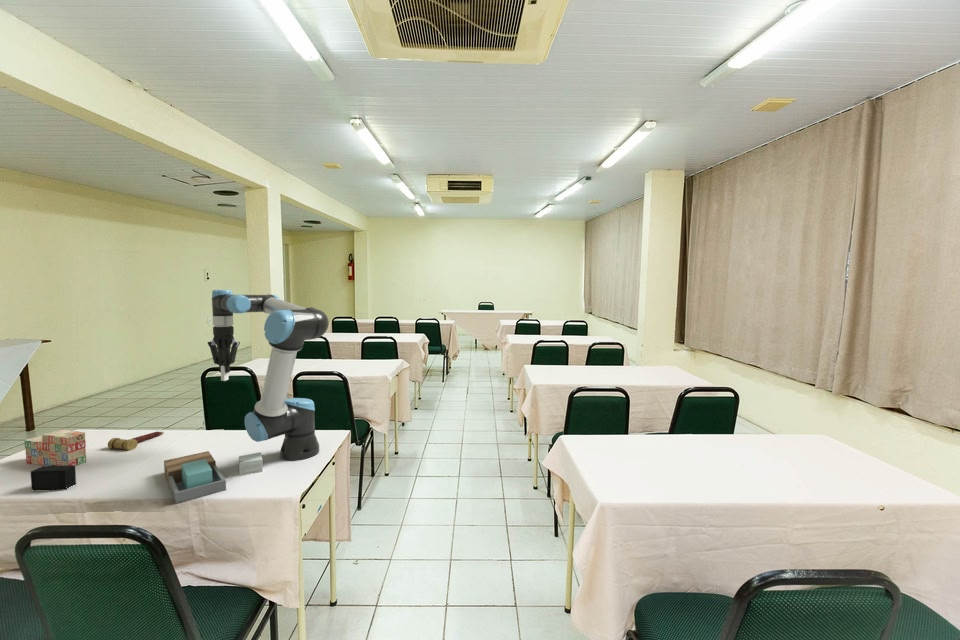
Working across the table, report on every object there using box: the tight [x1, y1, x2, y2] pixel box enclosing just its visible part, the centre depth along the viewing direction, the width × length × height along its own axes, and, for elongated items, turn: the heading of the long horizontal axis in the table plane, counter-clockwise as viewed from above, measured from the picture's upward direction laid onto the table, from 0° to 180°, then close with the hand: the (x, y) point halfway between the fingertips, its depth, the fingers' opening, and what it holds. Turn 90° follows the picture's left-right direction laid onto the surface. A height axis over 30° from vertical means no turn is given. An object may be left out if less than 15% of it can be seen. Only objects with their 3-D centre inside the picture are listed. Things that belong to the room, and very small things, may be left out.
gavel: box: [107, 431, 164, 451], centre depth 184 cm, size 21×5×10 cm
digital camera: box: [30, 465, 77, 491], centre depth 142 cm, size 10×5×7 cm, turn 97°
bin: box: [168, 464, 227, 505], centre depth 142 cm, size 16×14×4 cm
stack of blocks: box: [24, 429, 87, 467], centre depth 161 cm, size 21×6×12 cm, turn 78°
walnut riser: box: [163, 450, 217, 486], centre depth 153 cm, size 13×14×5 cm
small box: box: [238, 452, 264, 477], centre depth 157 cm, size 8×8×5 cm
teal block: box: [182, 459, 213, 490], centre depth 142 cm, size 7×7×12 cm
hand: (224, 380), depth 178 cm, fingers closed
